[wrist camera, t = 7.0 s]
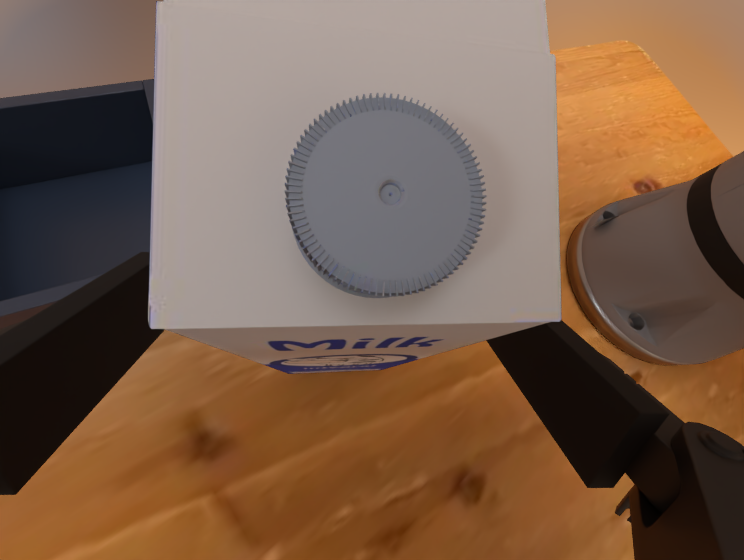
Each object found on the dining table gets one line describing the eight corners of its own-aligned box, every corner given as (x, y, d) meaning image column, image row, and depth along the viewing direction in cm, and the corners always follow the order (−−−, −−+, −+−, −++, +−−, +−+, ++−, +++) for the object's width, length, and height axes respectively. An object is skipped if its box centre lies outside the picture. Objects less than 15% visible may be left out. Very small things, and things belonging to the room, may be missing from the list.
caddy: (195, 150, 26) (155, 78, 20) (235, 295, 23) (202, 261, 16) (-17, 190, 22) (-146, 115, 16) (-7, 369, 19) (-166, 361, 13)
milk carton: (379, 283, 25) (554, -39, 6) (384, 369, 22) (683, 289, 4) (289, 282, 24) (157, -113, 5) (285, 373, 21) (20, 288, 3)
